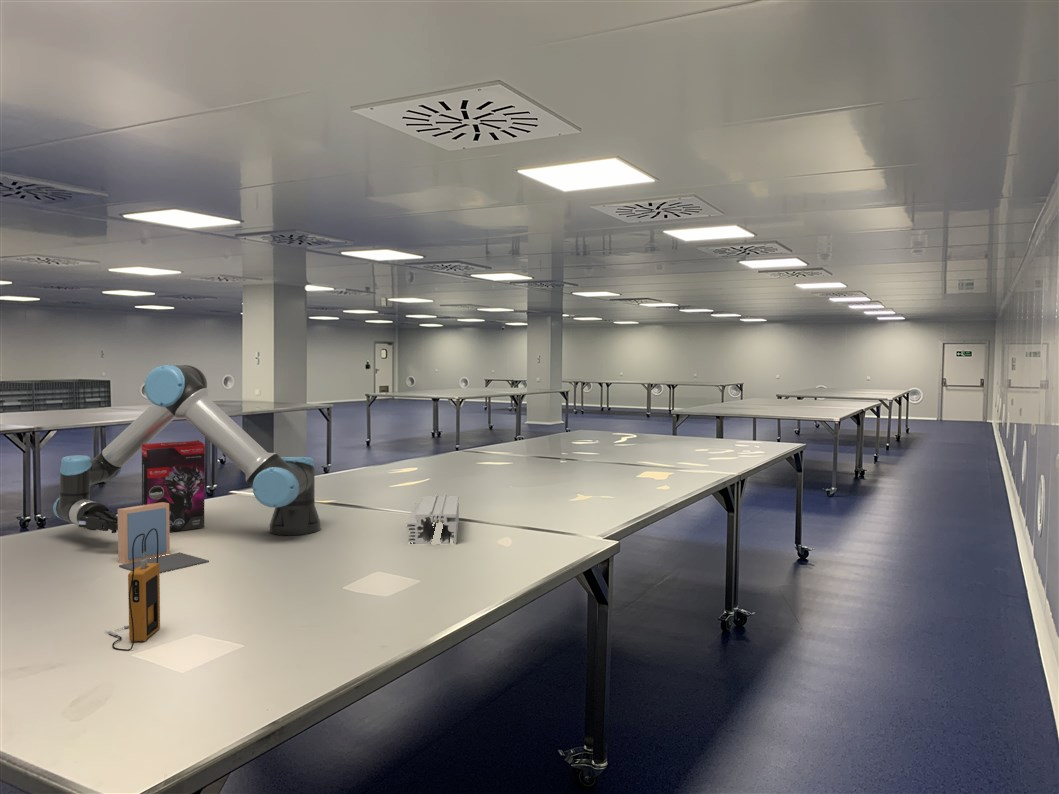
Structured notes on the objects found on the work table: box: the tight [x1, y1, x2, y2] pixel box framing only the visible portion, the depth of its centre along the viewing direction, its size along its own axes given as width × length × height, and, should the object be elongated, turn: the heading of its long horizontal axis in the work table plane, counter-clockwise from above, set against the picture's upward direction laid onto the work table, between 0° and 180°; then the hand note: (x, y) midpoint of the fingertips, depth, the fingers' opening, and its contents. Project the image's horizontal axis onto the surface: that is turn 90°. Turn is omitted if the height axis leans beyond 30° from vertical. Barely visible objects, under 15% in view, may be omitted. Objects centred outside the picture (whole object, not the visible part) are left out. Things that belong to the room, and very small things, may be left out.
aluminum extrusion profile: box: [405, 492, 460, 545], centre depth 225 cm, size 14×31×10 cm, turn 4°
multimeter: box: [104, 528, 161, 652], centre depth 137 cm, size 15×10×20 cm
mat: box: [118, 552, 210, 574], centre depth 187 cm, size 14×16×1 cm
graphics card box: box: [141, 440, 206, 533], centre depth 224 cm, size 17×7×27 cm, turn 132°
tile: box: [117, 502, 171, 565], centre depth 193 cm, size 3×12×14 cm, turn 145°
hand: (132, 529), depth 194 cm, fingers closed
